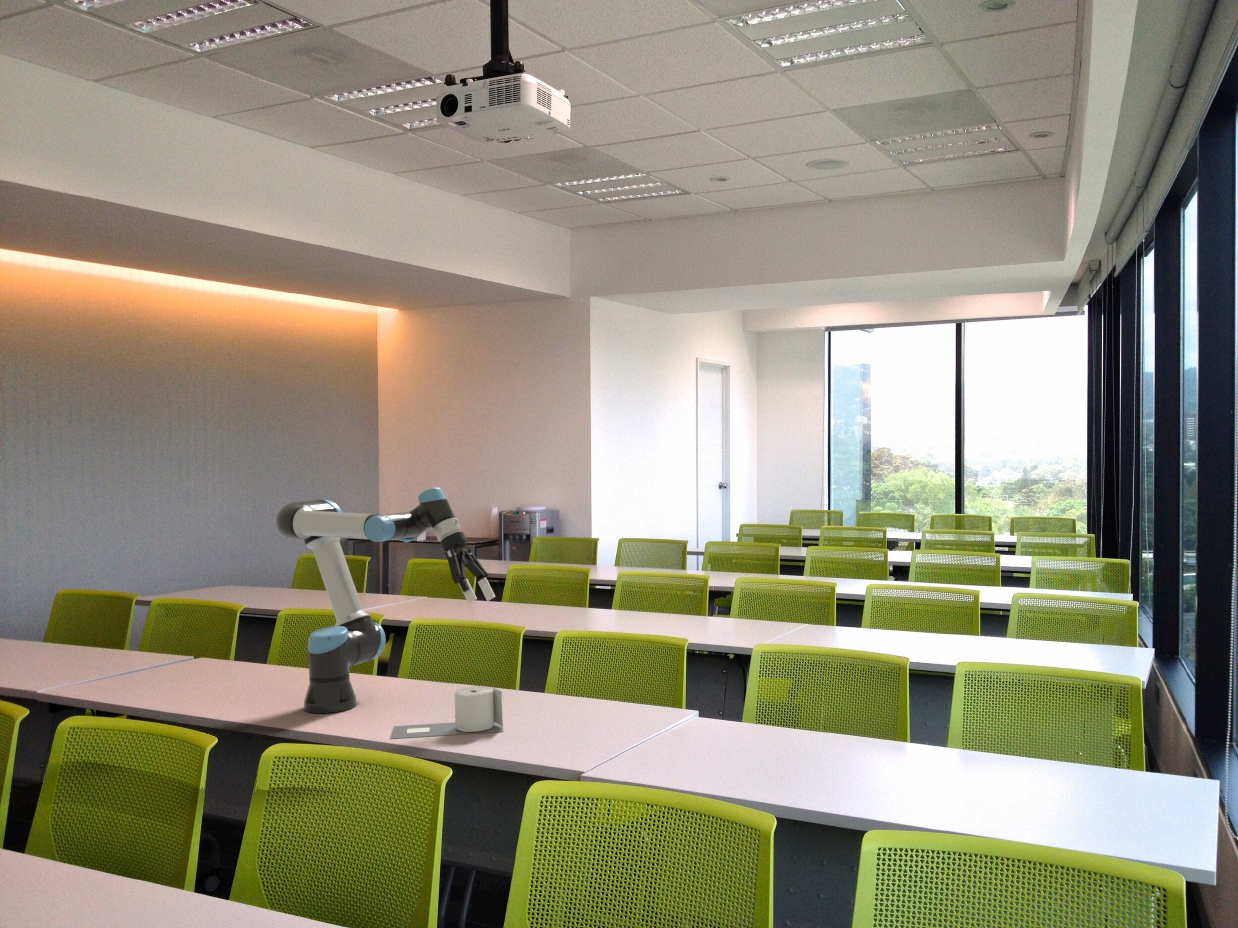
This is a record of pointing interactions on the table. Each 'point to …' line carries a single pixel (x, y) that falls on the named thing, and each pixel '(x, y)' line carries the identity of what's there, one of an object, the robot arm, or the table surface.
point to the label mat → (435, 730)
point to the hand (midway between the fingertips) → (482, 600)
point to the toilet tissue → (477, 708)
